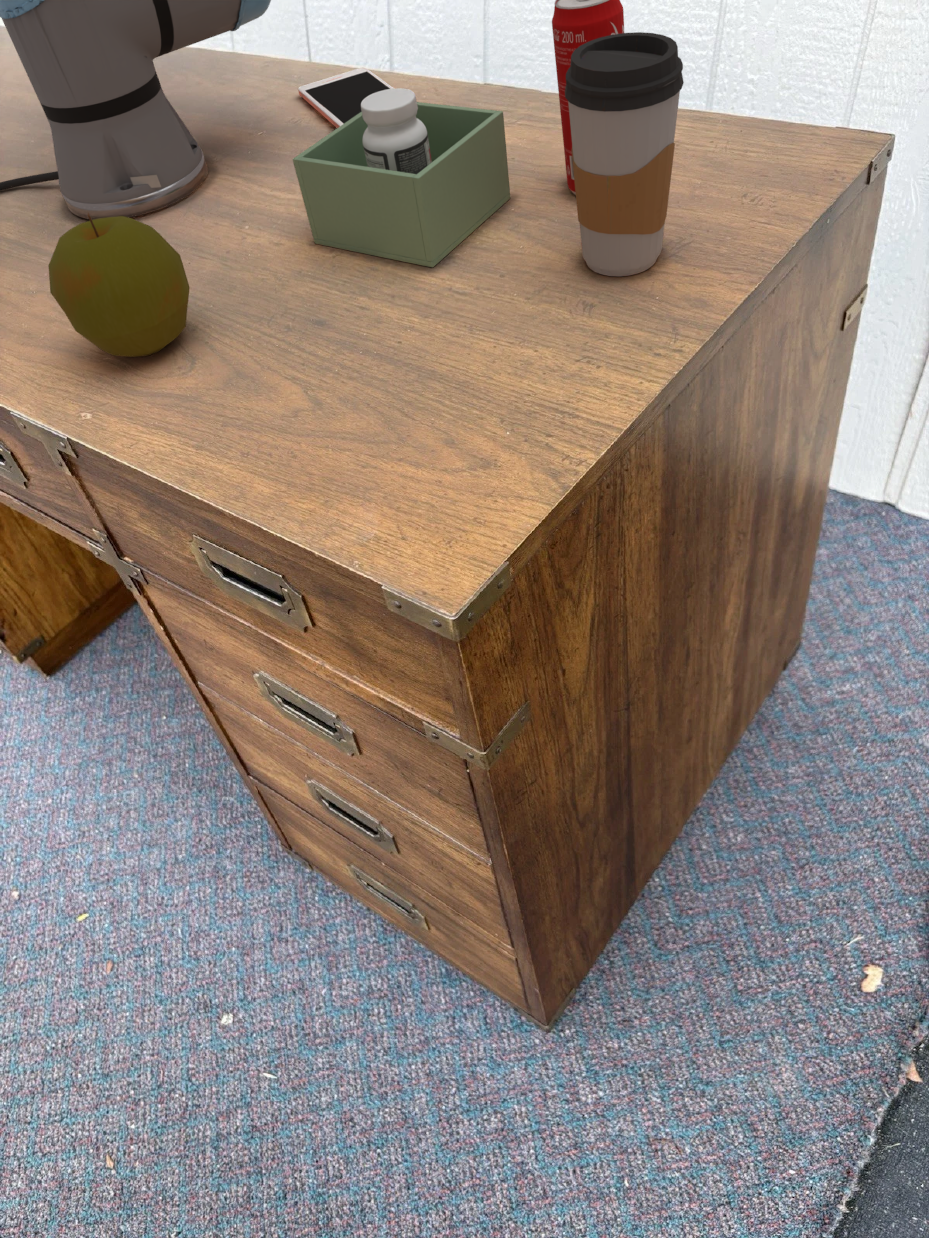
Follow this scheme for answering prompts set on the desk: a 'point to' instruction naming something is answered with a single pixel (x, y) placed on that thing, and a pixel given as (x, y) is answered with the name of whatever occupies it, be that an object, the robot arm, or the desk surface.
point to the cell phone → (342, 94)
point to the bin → (407, 187)
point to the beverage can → (577, 19)
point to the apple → (120, 285)
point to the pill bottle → (394, 132)
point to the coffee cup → (623, 146)
